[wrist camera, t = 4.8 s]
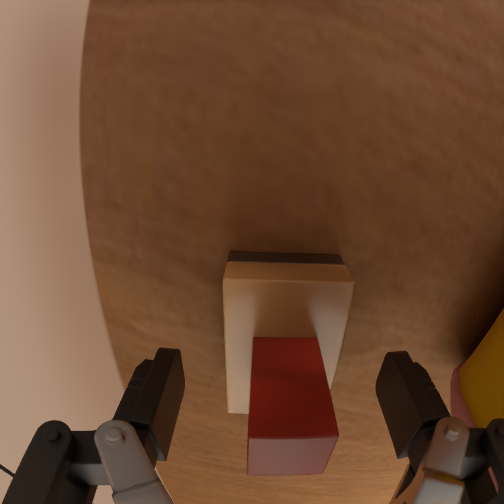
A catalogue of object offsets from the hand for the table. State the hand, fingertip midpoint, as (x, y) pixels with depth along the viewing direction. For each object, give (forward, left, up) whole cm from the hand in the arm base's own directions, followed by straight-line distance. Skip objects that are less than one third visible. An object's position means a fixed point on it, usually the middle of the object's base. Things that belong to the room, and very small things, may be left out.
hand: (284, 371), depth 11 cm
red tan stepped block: (0, 0, -3) cm, 3 cm away
